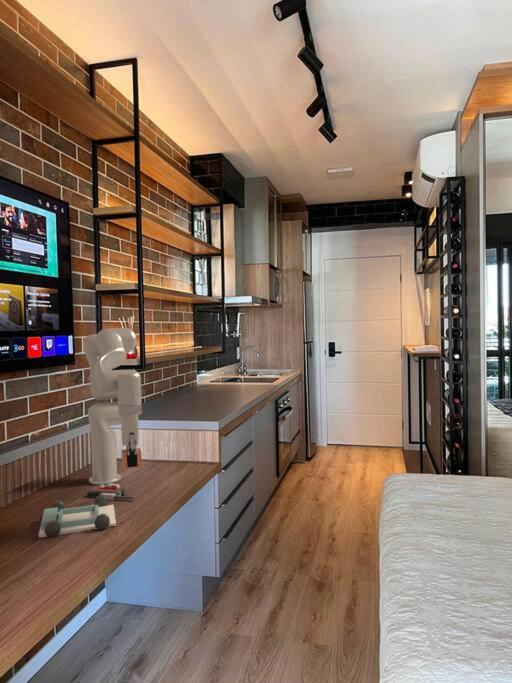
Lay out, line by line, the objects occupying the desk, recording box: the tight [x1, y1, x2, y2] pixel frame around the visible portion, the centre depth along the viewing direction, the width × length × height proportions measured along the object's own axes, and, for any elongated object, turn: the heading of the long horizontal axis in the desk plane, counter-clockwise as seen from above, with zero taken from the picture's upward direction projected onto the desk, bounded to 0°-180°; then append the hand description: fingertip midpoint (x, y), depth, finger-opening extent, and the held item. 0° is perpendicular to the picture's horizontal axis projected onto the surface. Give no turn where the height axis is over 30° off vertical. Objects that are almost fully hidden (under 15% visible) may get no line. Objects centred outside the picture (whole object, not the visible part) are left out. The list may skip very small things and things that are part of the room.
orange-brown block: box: [121, 447, 143, 470], centre depth 164 cm, size 5×6×5 cm
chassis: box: [38, 495, 117, 539], centre depth 159 cm, size 21×22×4 cm
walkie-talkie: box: [86, 483, 135, 501], centre depth 183 cm, size 9×4×20 cm
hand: (131, 463), depth 164 cm, fingers closed on orange-brown block, 5 cm apart
